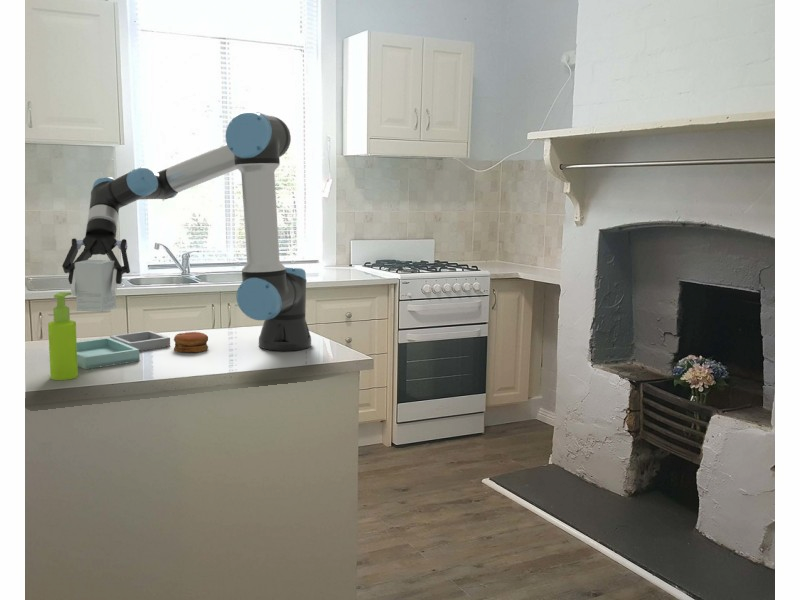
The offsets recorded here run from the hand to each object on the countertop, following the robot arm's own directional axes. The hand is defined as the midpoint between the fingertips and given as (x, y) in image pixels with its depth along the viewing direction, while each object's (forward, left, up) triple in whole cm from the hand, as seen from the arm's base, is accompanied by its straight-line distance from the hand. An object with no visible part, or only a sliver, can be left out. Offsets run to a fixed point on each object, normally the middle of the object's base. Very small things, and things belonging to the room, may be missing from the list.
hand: (93, 292), depth 184 cm
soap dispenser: (-10, +12, -18) cm, 23 cm away
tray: (+2, -1, -18) cm, 18 cm away
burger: (-3, -25, -18) cm, 31 cm away
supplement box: (+3, -2, -5) cm, 6 cm away
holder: (+9, -16, -18) cm, 26 cm away
